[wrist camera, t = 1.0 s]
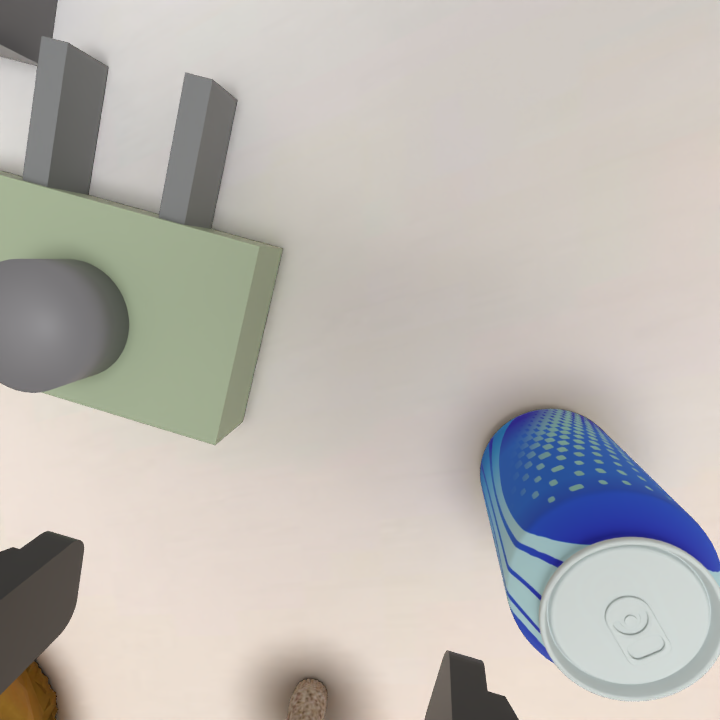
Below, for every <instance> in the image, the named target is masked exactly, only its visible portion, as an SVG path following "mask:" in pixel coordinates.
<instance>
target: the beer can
mask: <svg viewBox="0 0 720 720" xmlns="http://www.w3.org/2000/svg"><path fill="white" fill-rule="evenodd" d="M480 480H481V486H482V491H483V495H484V499H485V504H486V508H487V512H488V517H489V521H490V525H491V530H492V534H493V538H494V543H495V547H496V551H497V556H498V560H499V564H500V569H501V573H502V577H503V582H504V586H505V590H506V595H507V599H508V603H509V606H510V610H511V612H512V614H513V617H514V619H515V621H516V623H517V625H518V627H519V629H520V630H521V632H522V633H523V635H524V636H525V637H526V639H527V640H528V641H529V642H530V643H531V644H532V645H533V646H534V647H535V648H536V649H537V650H538V651H539V652H540V653H541V654H542V655H543V656H544V657H546V658H547V659H548V660H550V661H551V662H553V663H554V664H555V665H556V666H557V667H558V668H559V670H560V671H561V672H562V673H563V674H564V675H565V676H567V677H568V678H569V679H570V680H571V681H573V682H574V683H576V684H577V685H578V686H580V687H582V688H584V689H585V690H587V691H590V692H592V693H594V694H597V695H599V696H602V697H606V698H610V699H614V700H620V701H649V700H655V699H659V698H663V697H667V696H670V695H673V694H675V693H677V692H680V691H682V690H684V689H685V688H687V687H689V686H690V685H692V684H693V683H695V682H696V681H697V680H699V679H700V678H701V677H702V676H703V675H704V674H705V673H706V672H707V671H708V670H709V669H710V668H711V667H712V665H713V664H714V663H715V661H716V660H717V658H718V657H719V655H720V561H719V558H718V556H717V553H716V551H715V549H714V546H713V544H712V543H711V541H710V540H709V538H708V536H707V535H706V533H705V532H704V531H703V529H702V528H701V527H700V526H699V524H698V523H697V522H696V521H695V520H694V519H693V518H692V517H691V516H690V515H689V514H688V513H687V512H686V511H685V510H684V509H683V508H681V507H680V506H679V505H678V504H677V503H676V502H675V501H674V500H673V499H672V498H671V497H670V496H669V495H668V494H667V493H666V492H665V491H664V490H663V489H662V488H661V487H660V486H659V485H658V484H657V483H656V482H655V481H654V480H653V479H652V478H651V477H650V476H649V475H648V474H647V473H646V472H645V471H644V470H643V469H642V468H641V467H640V466H639V465H638V464H636V463H635V462H634V461H633V460H632V459H631V458H630V457H629V456H628V455H627V454H626V453H625V452H624V451H623V450H622V449H621V448H620V447H619V446H618V445H617V444H616V443H615V442H614V441H613V440H612V439H611V438H610V437H609V436H608V435H607V434H606V433H605V432H604V431H603V430H602V429H601V428H600V427H598V426H597V425H596V424H595V423H593V422H592V421H590V420H589V419H587V418H585V417H583V416H581V415H579V414H577V413H573V412H570V411H566V410H560V409H540V410H534V411H530V412H527V413H524V414H521V415H519V416H517V417H515V418H513V419H512V420H510V421H509V422H507V423H506V424H504V425H503V426H502V427H501V428H500V429H499V430H498V431H497V432H496V433H495V434H494V436H493V437H492V438H491V440H490V441H489V443H488V445H487V447H486V449H485V451H484V454H483V457H482V461H481V467H480Z"/></svg>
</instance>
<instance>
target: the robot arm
mask: <svg viewBox="0 0 720 720" xmlns="http://www.w3.org/2000/svg"><path fill="white" fill-rule="evenodd" d="M83 554H84V544H83V542H82V541H81V540H77V539H74V538H70V537H67V536H64V535H60V534H57V533H54V532H50V531H46V532H44V533H42V534H41V535H39V536H38V537H36V538H35V539H34V540H32V541H31V542H29V543H28V544H26V545H25V546H24V547H22V548H21V549H17V548H14V547H12V548H10V549H7V550H4V551H1V552H0V695H1V694H2V693H3V692H4V691H5V690H6V689H7V688H8V687H9V686H10V685H11V684H12V683H13V682H14V681H15V680H16V679H17V678H18V677H19V676H20V675H21V674H22V673H23V672H24V670H25V669H26V668H27V667H28V666H29V665H30V664H31V663H32V662H33V661H34V660H35V659H36V658H37V657H38V656H39V655H40V654H41V653H42V652H43V651H44V650H45V649H46V648H47V647H48V646H49V645H50V644H51V643H52V642H53V641H54V640H55V639H56V638H57V637H58V636H59V635H60V634H61V633H62V631H63V630H64V629H65V627H66V626H67V624H68V623H69V621H70V619H71V617H72V615H73V612H74V610H75V607H76V602H77V596H78V589H79V582H80V575H81V568H82V561H83ZM425 720H519V719H518V718H517V716H516V714H515V713H514V711H513V709H512V707H511V706H510V704H509V702H508V701H507V699H506V697H505V696H502V695H499V694H495V693H492V692H489V691H487V683H486V676H485V668H484V663H483V661H481V660H478V659H475V658H471V657H468V656H465V655H461V654H458V653H454V652H451V651H448V650H447V651H446V652H445V654H444V657H443V660H442V663H441V666H440V670H439V673H438V676H437V679H436V683H435V686H434V689H433V692H432V696H431V699H430V702H429V705H428V709H427V712H426V716H425Z"/></svg>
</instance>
